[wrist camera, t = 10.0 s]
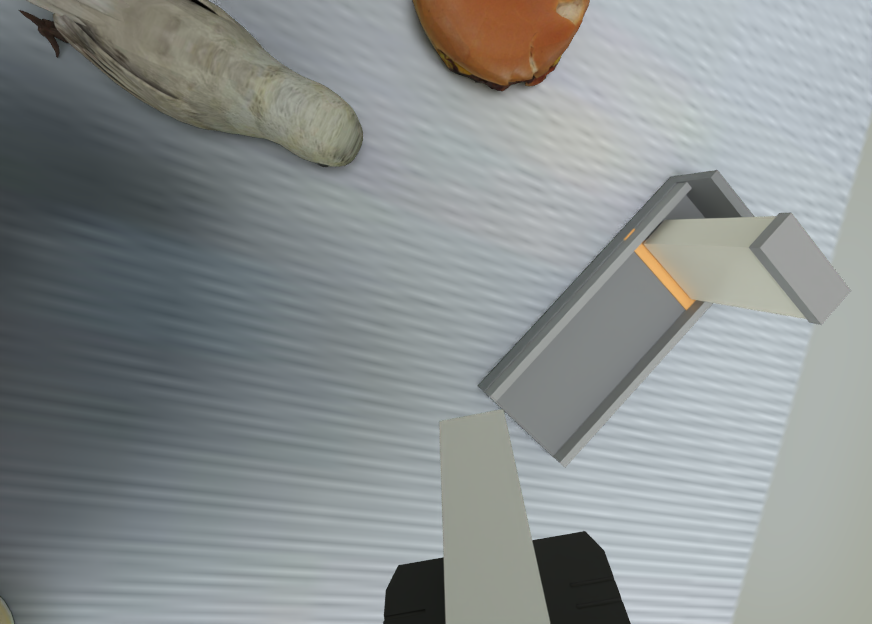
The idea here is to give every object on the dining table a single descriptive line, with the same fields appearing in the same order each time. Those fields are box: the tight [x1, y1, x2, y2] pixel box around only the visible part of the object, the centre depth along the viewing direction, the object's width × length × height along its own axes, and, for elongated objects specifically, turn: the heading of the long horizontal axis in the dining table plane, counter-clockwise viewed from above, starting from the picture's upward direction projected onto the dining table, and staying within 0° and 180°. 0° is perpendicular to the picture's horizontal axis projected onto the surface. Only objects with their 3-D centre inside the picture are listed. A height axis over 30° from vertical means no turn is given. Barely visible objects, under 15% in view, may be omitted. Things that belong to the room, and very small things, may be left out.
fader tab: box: [643, 213, 851, 324], centre depth 32 cm, size 2×5×10 cm, turn 46°
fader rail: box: [478, 170, 754, 467], centre depth 36 cm, size 18×7×4 cm, turn 136°
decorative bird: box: [19, 0, 363, 167], centre depth 28 cm, size 5×16×7 cm, turn 65°
